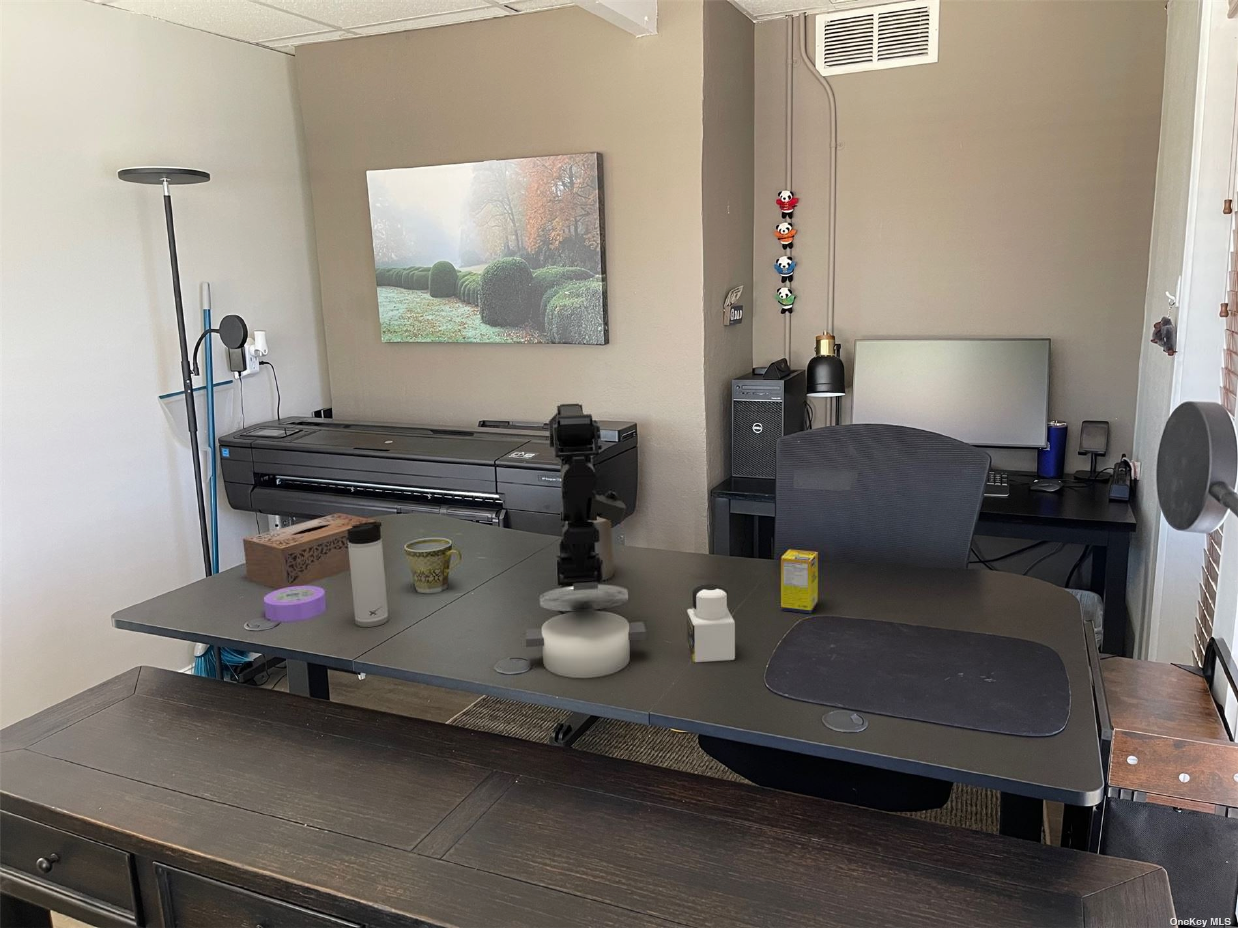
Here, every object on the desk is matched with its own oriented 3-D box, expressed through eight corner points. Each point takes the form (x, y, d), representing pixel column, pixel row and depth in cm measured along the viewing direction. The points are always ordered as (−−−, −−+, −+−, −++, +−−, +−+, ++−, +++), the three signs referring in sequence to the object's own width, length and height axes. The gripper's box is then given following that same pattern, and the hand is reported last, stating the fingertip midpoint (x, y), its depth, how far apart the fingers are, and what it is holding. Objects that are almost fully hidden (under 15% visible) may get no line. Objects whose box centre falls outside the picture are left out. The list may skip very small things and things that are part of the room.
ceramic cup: (398, 593, 190) (394, 548, 188) (425, 578, 199) (422, 535, 197) (450, 600, 185) (447, 554, 183) (475, 584, 194) (472, 540, 192)
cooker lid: (540, 612, 160) (540, 601, 160) (624, 607, 161) (624, 596, 162) (539, 592, 144) (538, 580, 145) (632, 586, 145) (631, 574, 146)
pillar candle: (599, 566, 204) (596, 503, 201) (621, 577, 196) (618, 511, 193) (562, 574, 199) (558, 510, 196) (583, 586, 191) (579, 519, 188)
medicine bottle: (687, 646, 158) (686, 582, 156) (726, 643, 159) (726, 579, 156) (693, 663, 151) (693, 596, 149) (735, 660, 152) (735, 593, 150)
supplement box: (817, 604, 177) (818, 551, 174) (810, 614, 171) (811, 560, 169) (788, 600, 179) (788, 548, 177) (780, 610, 174) (780, 557, 172)
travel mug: (381, 628, 171) (372, 527, 167) (349, 626, 172) (340, 527, 168) (395, 616, 177) (387, 519, 173) (364, 614, 178) (356, 518, 174)
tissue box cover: (342, 551, 223) (338, 513, 221) (380, 560, 214) (376, 520, 212) (247, 581, 202) (242, 538, 200) (285, 592, 194) (280, 548, 192)
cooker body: (527, 643, 162) (526, 612, 160) (639, 636, 163) (638, 605, 162) (527, 682, 146) (525, 647, 145) (650, 673, 148) (649, 639, 147)
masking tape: (303, 598, 190) (301, 581, 189) (338, 608, 183) (336, 591, 182) (253, 616, 180) (251, 598, 180) (288, 627, 174) (286, 608, 173)
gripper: (627, 493, 151) (629, 581, 154) (617, 471, 169) (619, 550, 172) (561, 497, 150) (565, 585, 153) (558, 474, 168) (561, 553, 171)
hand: (580, 567), depth 162 cm, fingers open, 3 cm apart
